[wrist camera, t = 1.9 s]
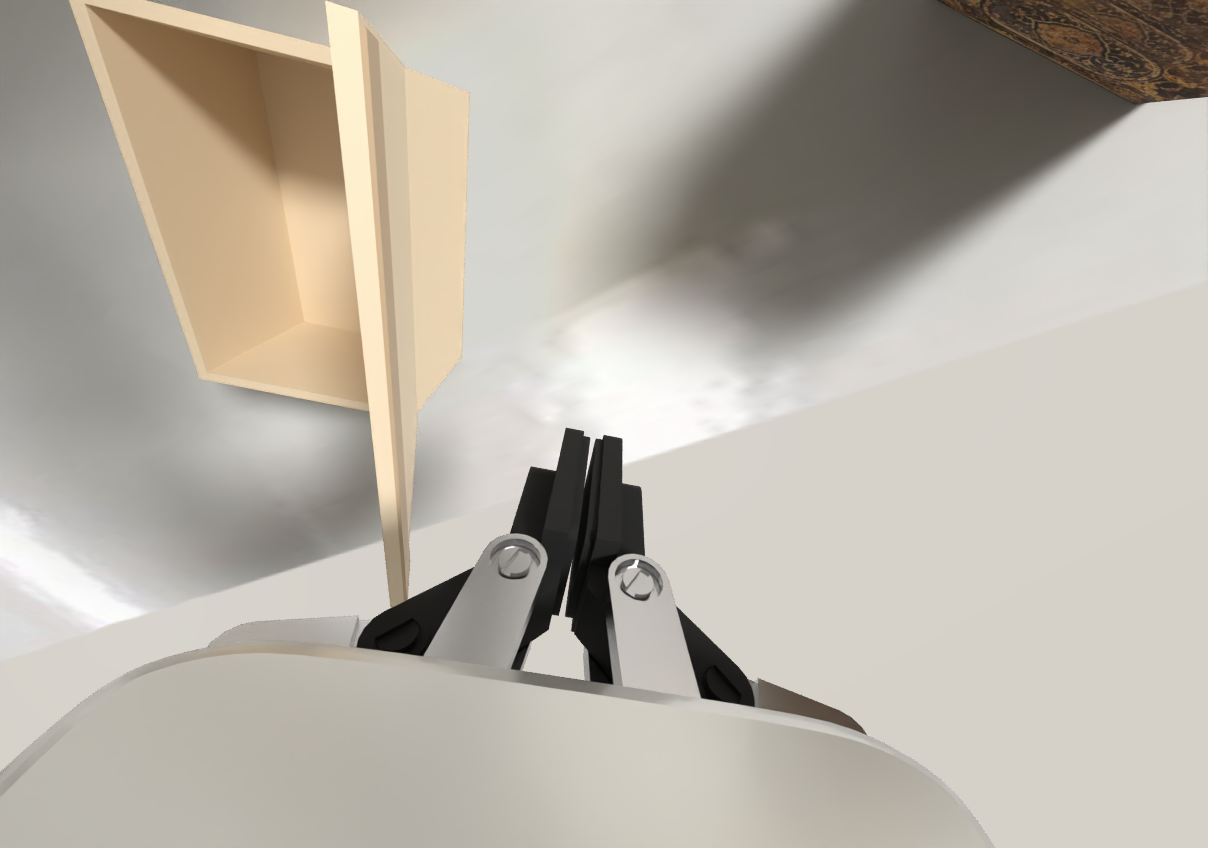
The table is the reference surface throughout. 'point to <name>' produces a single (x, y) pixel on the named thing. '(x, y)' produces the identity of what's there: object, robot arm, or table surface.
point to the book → (1111, 41)
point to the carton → (272, 197)
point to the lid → (380, 262)
